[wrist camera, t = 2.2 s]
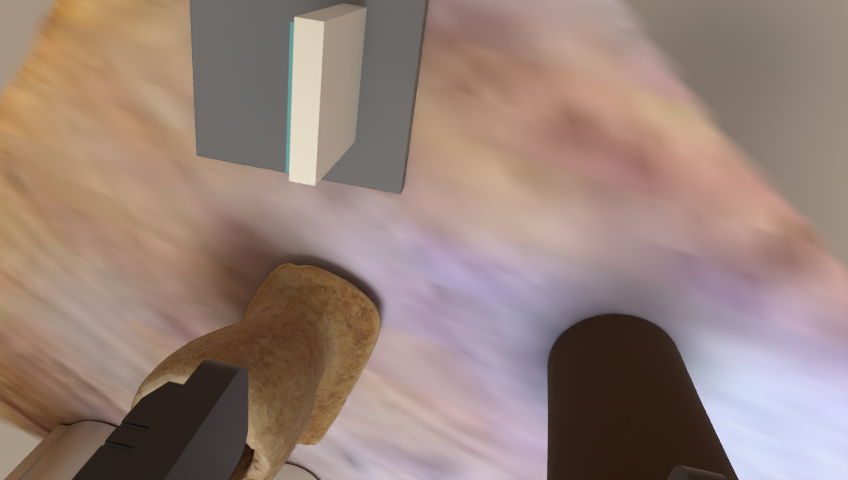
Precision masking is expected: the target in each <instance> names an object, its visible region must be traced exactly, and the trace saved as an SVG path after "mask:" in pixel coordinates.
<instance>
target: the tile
mask: <svg viewBox="0 0 848 480" xmlns="http://www.w3.org/2000/svg"><path fill="white" fill-rule="evenodd" d="M366 11H367V7H362V6H356V5H350V4H344V3H342V4H339V5H335V6H331V7H328V8H324V9H321V10H317V11H313V12H310V13H306V14H302V15H299V16H295V17H294V21H292V22H290V42H289V75H288V108H287V141H286V173H289V181H292V182H297V183H302V184H308V185H313V186H316V185H317V183H318V182H319V181H320V180H321V179H322V178H323V177H324V176H325V174H326V173H327V172H328V171H329V170H330V169H331V168H332V167H333V166H334V164H335V163H336V162H337V161H338V160H339V159H340V158H341V157H342V156H343V154H344V153H345V152H346V151H347V150H348V149H349V148H350V147H351V145H352V144H353V143H354V142H355V138H356V127H357V115H358V104H359V92H360V80H361V69H362V57H363V46H364V34H365V22H366Z"/></svg>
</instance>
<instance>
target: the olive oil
mask: <svg viewBox="0 0 848 480" xmlns="http://www.w3.org/2000/svg"><path fill="white" fill-rule="evenodd" d="M677 465H682V466H686V467H691V468H695V469H700V470H704V471H709V472H713V473H718V474H722V475H724V476H725V477H726V478H727V479H728V480H738V478H737V476H736V473H735V471H734V469H733V467H732V465H731V463H730V461H729V459H728V457H727V455H726V453H725V451H724V449H723V447H722V445H721V442H720V440H719V438H718V436H717V434H716V432H715V430H714V428H713V426H712V423H711V421H710V419H709V417H708V415H707V413H706V411H705V409H704V407H703V404H702V402H701V400H700V398H699V396H698V394H697V391H696V389H695V387H694V385H693V382H692V380H691V378H690V376H689V373H688V371H687V369H686V367H685V364H684V362H683V360H682V357H681V355H680V353H679V351H678V349H677V347H676V345H675V344H674V342H673V341H672V339H671V338H670V337H669V336H668V335H667V334H666V333H665V332H664V331H663V330H662V329H660V328H659V327H657V326H656V325H654V324H652V323H650V322H648V321H646V320H643V319H640V318H637V317H633V316H627V315H604V316H598V317H594V318H590V319H587V320H585V321H582V322H580V323H578V324H576V325H575V326H573V327H571V328H570V329H569V330H567V331H566V332H565V333H564V334H563V335H562V336H561V337H560V338H559V339H558V340H557V342H556V343H555V345H554V346H553V348H552V350H551V353H550V356H549V360H548V461H547V480H667V479H668V477H669V475H670V473H671V471H672V470H673V468H674V467H675V466H677Z"/></svg>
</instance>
